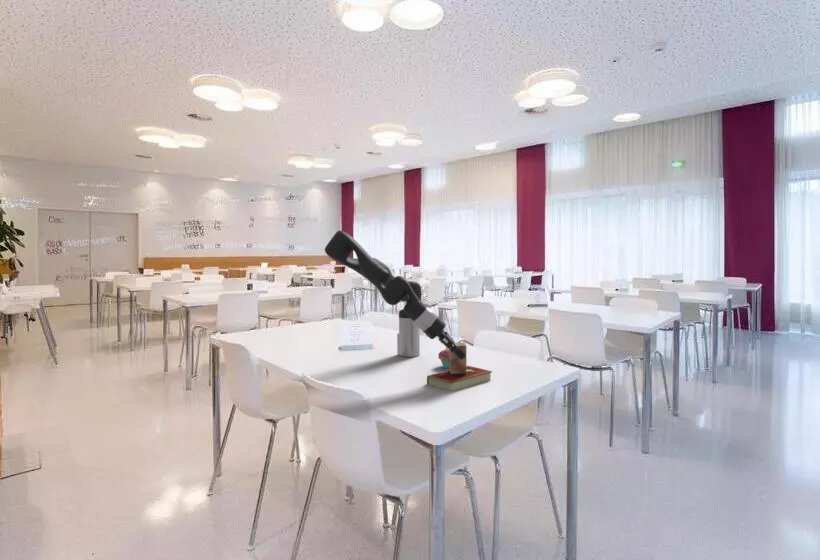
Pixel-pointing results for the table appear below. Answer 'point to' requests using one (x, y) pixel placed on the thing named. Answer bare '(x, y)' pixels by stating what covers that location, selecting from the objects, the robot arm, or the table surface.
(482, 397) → the table surface
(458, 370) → the block
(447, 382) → the hardcover book
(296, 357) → the table surface
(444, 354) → the cupcake
